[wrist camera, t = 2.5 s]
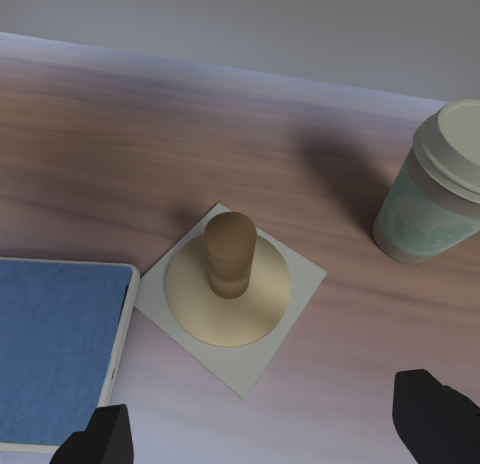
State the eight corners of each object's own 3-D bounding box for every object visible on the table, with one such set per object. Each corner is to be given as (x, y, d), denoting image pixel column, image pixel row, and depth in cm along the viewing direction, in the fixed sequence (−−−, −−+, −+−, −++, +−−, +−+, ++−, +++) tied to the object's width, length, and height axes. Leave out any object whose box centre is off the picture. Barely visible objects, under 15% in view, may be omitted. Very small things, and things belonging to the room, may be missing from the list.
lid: (220, 214, 29) (218, 151, 22) (311, 274, 26) (341, 222, 19) (141, 294, 24) (109, 244, 17) (241, 377, 21) (249, 355, 14)
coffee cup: (339, 234, 28) (403, 129, 18) (387, 188, 32) (462, 79, 22) (422, 298, 25) (553, 214, 15) (465, 239, 29) (595, 139, 19)
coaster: (218, 205, 30) (218, 203, 29) (326, 274, 26) (327, 272, 26) (124, 298, 24) (122, 296, 24) (244, 400, 21) (244, 400, 20)
